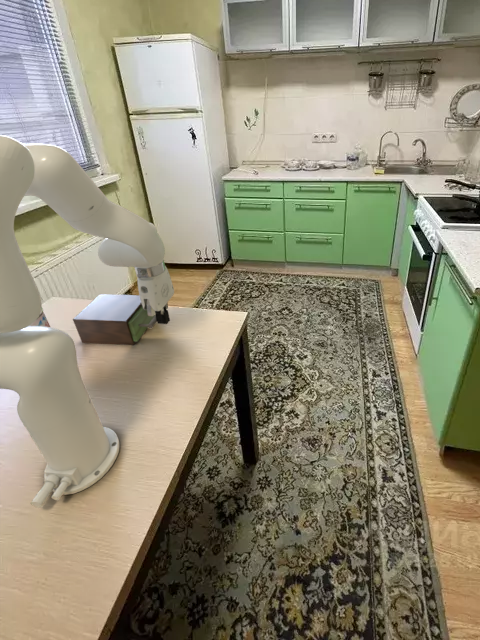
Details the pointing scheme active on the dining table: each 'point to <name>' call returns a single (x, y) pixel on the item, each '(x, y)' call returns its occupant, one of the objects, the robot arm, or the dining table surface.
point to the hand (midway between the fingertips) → (163, 322)
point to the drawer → (141, 323)
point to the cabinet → (107, 319)
